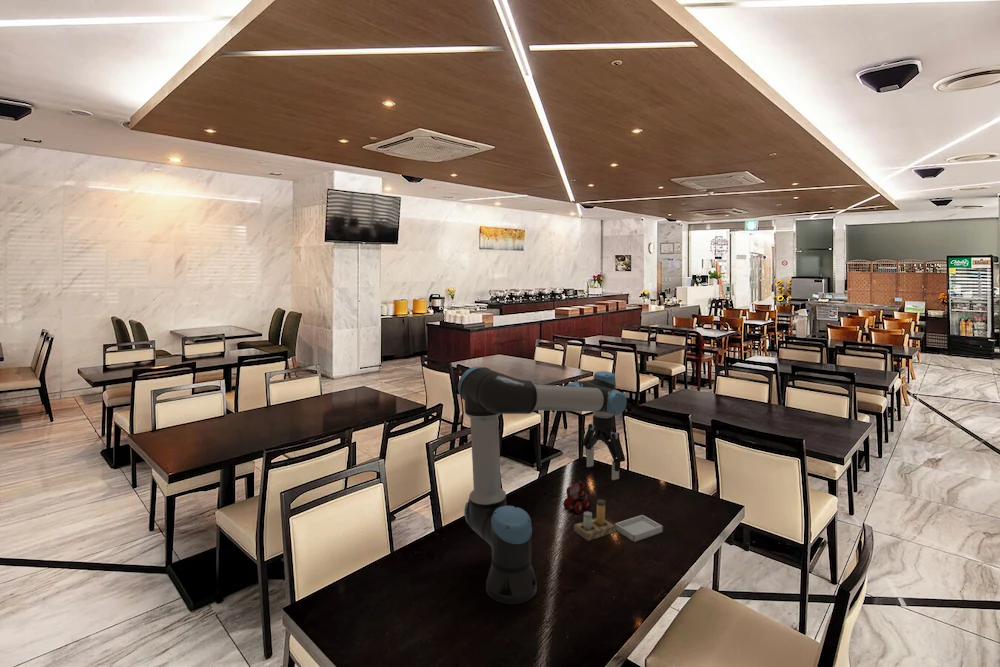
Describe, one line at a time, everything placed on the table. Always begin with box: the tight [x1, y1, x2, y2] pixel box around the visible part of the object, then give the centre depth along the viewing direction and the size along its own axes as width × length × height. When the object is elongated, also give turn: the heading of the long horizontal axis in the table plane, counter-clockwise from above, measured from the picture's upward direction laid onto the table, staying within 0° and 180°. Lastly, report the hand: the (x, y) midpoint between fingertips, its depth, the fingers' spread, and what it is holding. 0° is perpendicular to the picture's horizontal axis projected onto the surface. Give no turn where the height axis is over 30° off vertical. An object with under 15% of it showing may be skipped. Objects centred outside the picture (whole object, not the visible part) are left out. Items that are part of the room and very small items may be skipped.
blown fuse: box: [595, 499, 606, 527], centre depth 189 cm, size 3×3×11 cm
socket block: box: [573, 517, 616, 542], centre depth 188 cm, size 12×8×2 cm, turn 120°
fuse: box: [583, 511, 593, 531], centre depth 186 cm, size 3×3×8 cm
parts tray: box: [614, 514, 664, 543], centre depth 188 cm, size 14×10×2 cm
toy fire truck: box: [563, 480, 591, 514], centre depth 206 cm, size 7×12×10 cm, turn 135°
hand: (602, 472), depth 187 cm, fingers open, 13 cm apart
